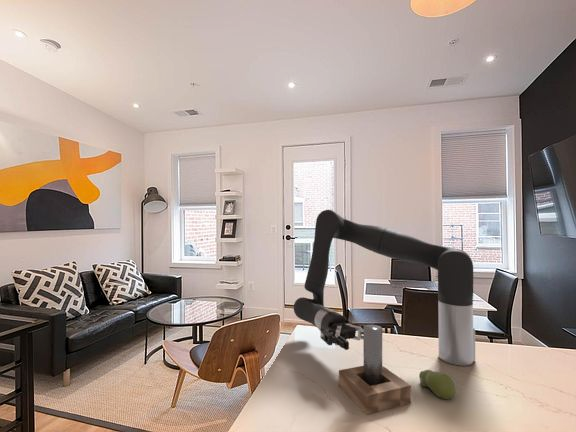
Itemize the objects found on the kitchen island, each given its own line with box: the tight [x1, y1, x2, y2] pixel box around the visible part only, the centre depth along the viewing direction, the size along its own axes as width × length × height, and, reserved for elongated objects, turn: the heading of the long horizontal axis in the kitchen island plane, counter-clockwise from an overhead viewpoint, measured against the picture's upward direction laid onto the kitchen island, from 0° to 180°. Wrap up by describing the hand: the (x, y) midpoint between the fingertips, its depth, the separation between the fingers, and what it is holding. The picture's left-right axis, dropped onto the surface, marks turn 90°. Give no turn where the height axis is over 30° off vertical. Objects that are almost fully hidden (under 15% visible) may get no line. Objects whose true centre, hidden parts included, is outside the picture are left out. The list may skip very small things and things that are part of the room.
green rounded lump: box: [418, 369, 457, 400], centre depth 76 cm, size 6×5×10 cm
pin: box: [363, 324, 383, 386], centre depth 74 cm, size 4×4×16 cm
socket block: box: [338, 365, 412, 415], centre depth 74 cm, size 12×12×4 cm
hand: (362, 343), depth 79 cm, fingers open, 8 cm apart
